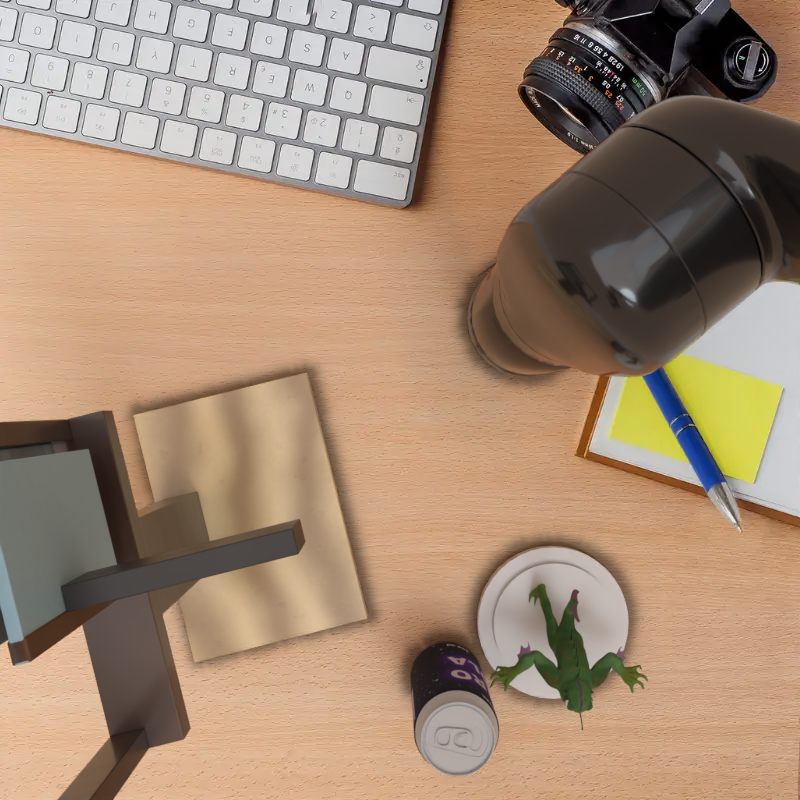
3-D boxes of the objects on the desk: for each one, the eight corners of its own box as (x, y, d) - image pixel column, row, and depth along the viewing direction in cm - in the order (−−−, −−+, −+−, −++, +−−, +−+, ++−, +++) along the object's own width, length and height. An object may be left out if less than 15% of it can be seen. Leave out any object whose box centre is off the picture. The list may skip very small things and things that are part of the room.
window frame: (184, 408, 61) (-73, 412, 27) (242, 644, 60) (59, 945, 27) (134, 421, 60) (-186, 440, 27) (192, 656, 60) (-55, 975, 27)
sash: (282, 400, 41) (244, 398, 30) (317, 545, 41) (292, 596, 30) (76, 451, 41) (-37, 468, 30) (112, 597, 41) (12, 667, 30)
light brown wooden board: (308, 372, 62) (306, 372, 61) (368, 614, 62) (367, 619, 61) (137, 414, 62) (132, 415, 60) (197, 658, 62) (194, 663, 60)
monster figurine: (476, 695, 62) (494, 752, 52) (477, 545, 62) (494, 573, 52) (625, 694, 62) (672, 752, 52) (625, 545, 62) (672, 573, 52)
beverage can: (477, 711, 62) (498, 786, 50) (407, 706, 62) (410, 780, 50) (483, 640, 62) (505, 699, 50) (412, 635, 62) (417, 692, 50)
